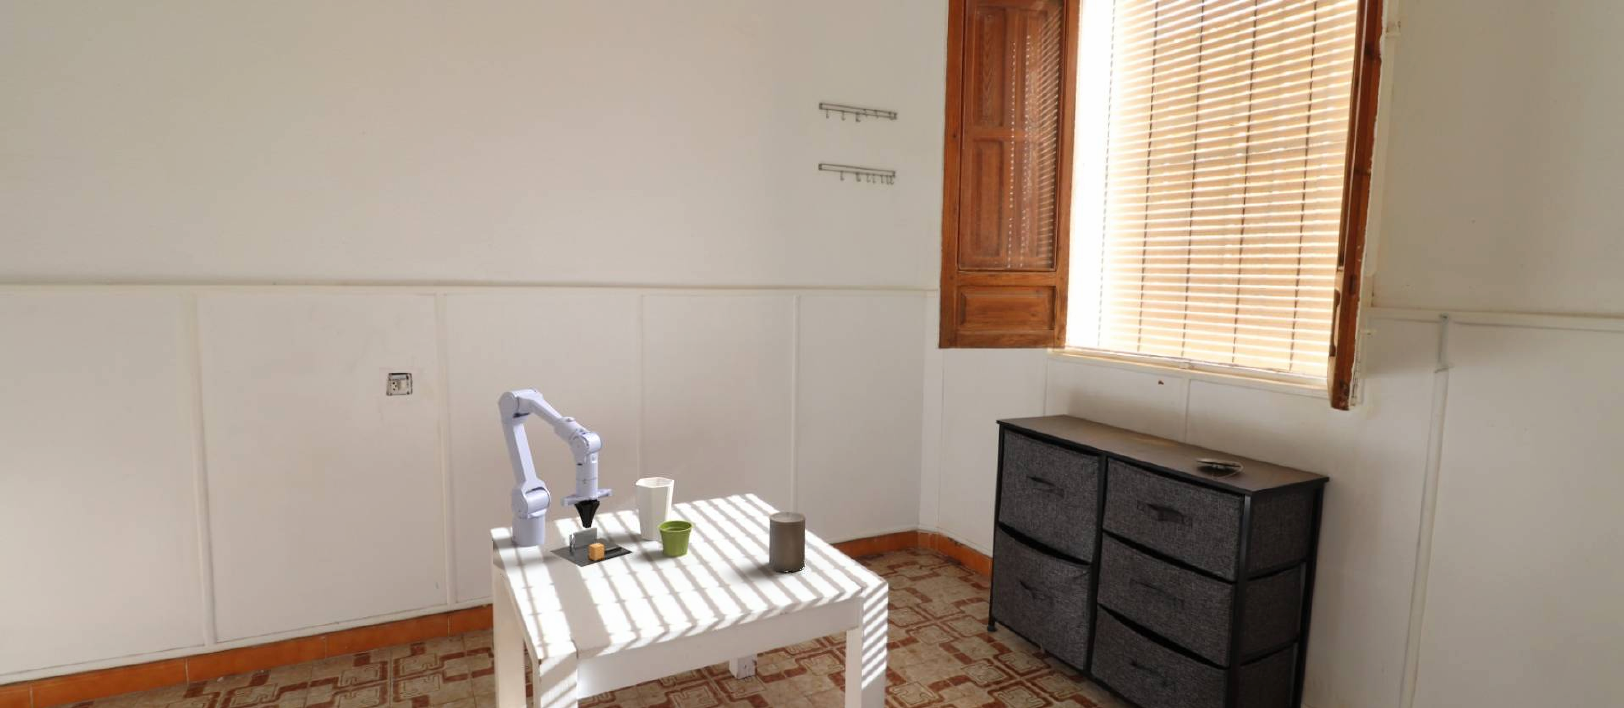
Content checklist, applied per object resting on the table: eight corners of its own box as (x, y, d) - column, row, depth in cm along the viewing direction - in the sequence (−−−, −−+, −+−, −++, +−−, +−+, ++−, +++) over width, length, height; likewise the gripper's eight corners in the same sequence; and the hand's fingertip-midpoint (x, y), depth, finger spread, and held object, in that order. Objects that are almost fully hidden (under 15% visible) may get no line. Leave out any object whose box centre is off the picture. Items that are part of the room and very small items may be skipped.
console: (549, 554, 216) (549, 536, 215) (601, 541, 228) (601, 524, 227) (581, 570, 205) (581, 551, 205) (633, 555, 217) (633, 537, 216)
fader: (589, 557, 211) (589, 544, 211) (598, 555, 213) (598, 542, 213) (594, 560, 209) (594, 547, 209) (604, 558, 211) (604, 544, 211)
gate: (574, 547, 218) (574, 533, 217) (572, 546, 219) (572, 532, 218) (596, 541, 223) (596, 528, 223) (594, 541, 224) (594, 527, 223)
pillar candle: (812, 566, 212) (813, 511, 211) (786, 575, 205) (787, 519, 204) (786, 557, 219) (787, 504, 218) (760, 566, 212) (761, 511, 211)
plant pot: (685, 564, 212) (685, 532, 211) (652, 560, 214) (652, 529, 213) (697, 552, 221) (697, 522, 220) (665, 549, 223) (665, 519, 222)
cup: (680, 538, 232) (681, 481, 230) (656, 548, 223) (656, 489, 221) (652, 531, 238) (652, 475, 236) (627, 540, 229) (628, 482, 227)
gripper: (570, 485, 204) (571, 536, 205) (618, 475, 215) (618, 524, 216) (556, 480, 209) (556, 530, 210) (603, 471, 220) (603, 518, 221)
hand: (586, 527), depth 213 cm, fingers closed
